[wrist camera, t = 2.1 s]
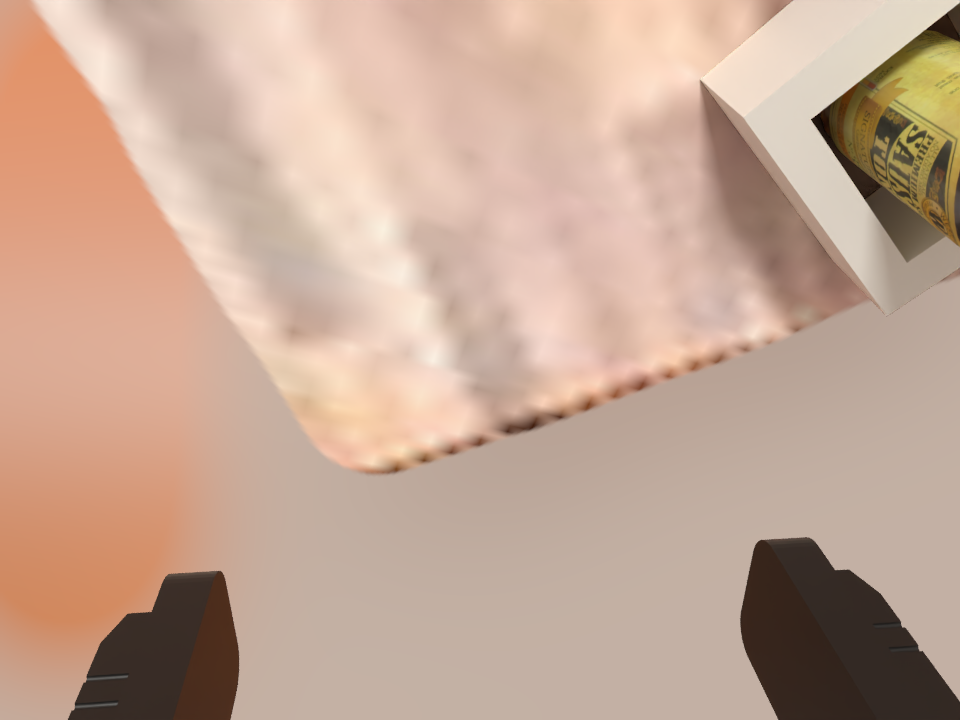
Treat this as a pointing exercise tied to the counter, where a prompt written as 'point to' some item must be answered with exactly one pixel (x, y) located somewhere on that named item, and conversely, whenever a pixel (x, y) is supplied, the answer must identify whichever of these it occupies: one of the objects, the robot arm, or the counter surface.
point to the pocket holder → (804, 153)
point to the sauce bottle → (908, 128)
